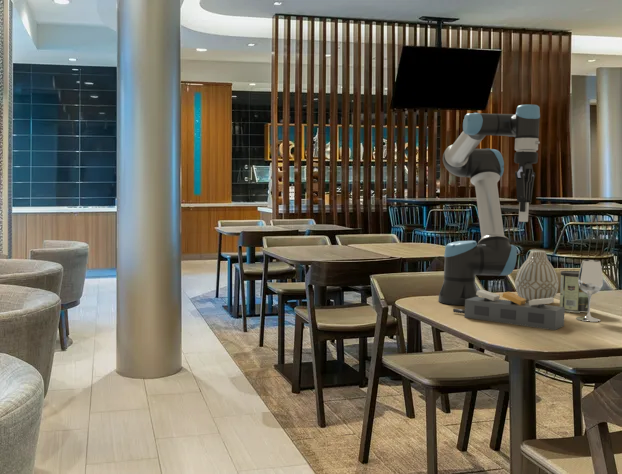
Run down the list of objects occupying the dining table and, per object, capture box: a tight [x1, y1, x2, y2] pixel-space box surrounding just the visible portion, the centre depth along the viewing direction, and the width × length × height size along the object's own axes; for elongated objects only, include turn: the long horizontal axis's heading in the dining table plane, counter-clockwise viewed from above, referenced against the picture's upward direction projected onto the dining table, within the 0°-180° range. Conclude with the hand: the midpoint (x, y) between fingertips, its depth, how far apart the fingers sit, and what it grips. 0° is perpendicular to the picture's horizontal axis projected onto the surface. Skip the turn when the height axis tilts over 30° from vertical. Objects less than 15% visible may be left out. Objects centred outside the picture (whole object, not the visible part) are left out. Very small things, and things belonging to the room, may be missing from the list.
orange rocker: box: [501, 291, 526, 305], centre depth 221 cm, size 6×4×1 cm
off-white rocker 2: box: [529, 298, 555, 305], centre depth 215 cm, size 6×4×1 cm
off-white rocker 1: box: [476, 289, 501, 301], centre depth 226 cm, size 6×4×1 cm
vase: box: [514, 249, 559, 303], centre depth 261 cm, size 16×16×20 cm
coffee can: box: [559, 270, 588, 314], centre depth 244 cm, size 10×10×14 cm
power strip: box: [452, 296, 566, 331], centre depth 223 cm, size 36×9×7 cm, turn 53°
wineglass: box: [575, 259, 604, 323], centre depth 226 cm, size 8×8×20 cm
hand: (523, 221), depth 229 cm, fingers closed
